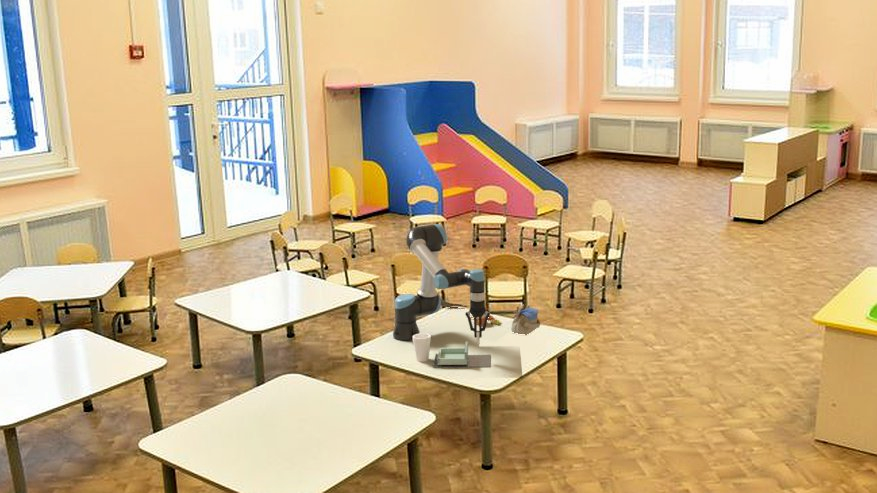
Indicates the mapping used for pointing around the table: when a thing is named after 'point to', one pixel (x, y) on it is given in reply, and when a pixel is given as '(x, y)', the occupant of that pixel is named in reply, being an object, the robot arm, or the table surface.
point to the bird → (450, 304)
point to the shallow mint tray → (453, 356)
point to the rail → (468, 362)
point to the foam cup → (422, 346)
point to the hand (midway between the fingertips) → (478, 343)
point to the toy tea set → (488, 319)
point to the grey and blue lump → (525, 320)
